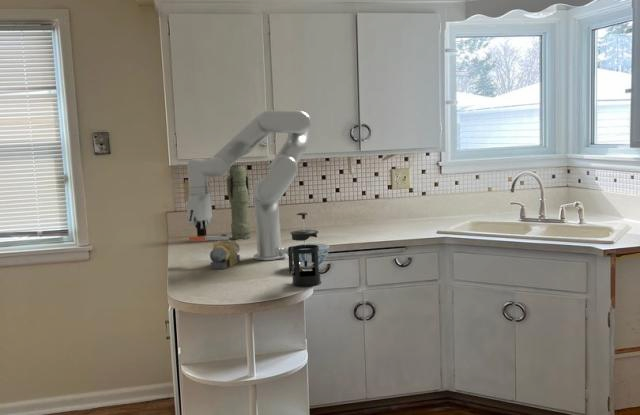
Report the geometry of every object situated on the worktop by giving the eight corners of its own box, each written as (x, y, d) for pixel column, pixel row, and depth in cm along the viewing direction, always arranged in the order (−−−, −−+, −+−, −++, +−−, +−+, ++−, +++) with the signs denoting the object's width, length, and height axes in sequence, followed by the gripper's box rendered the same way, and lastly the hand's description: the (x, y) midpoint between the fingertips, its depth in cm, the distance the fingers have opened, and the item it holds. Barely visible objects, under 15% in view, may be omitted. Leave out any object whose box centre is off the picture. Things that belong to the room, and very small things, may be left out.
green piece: (225, 239, 307) (221, 166, 304) (244, 235, 316) (239, 164, 312) (238, 240, 302) (233, 166, 298) (256, 237, 311) (252, 164, 307)
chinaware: (294, 274, 223) (293, 252, 222) (284, 266, 237) (283, 245, 236) (335, 269, 227) (334, 248, 226) (323, 262, 241) (322, 242, 240)
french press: (328, 282, 208) (325, 211, 205) (310, 288, 200) (307, 215, 198) (300, 278, 215) (297, 210, 212) (282, 284, 207) (278, 213, 205)
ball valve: (242, 260, 251) (240, 238, 250) (225, 269, 236) (223, 245, 235) (226, 260, 253) (225, 238, 252) (208, 269, 238) (207, 245, 237)
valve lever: (230, 239, 245) (230, 233, 244) (227, 241, 241) (227, 234, 241) (192, 240, 247) (192, 234, 247) (188, 241, 244) (188, 235, 244)
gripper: (203, 189, 254) (206, 235, 256) (178, 193, 241) (181, 241, 243) (218, 189, 251) (221, 236, 253) (194, 193, 238) (197, 242, 240)
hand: (202, 238), depth 248 cm, fingers closed
